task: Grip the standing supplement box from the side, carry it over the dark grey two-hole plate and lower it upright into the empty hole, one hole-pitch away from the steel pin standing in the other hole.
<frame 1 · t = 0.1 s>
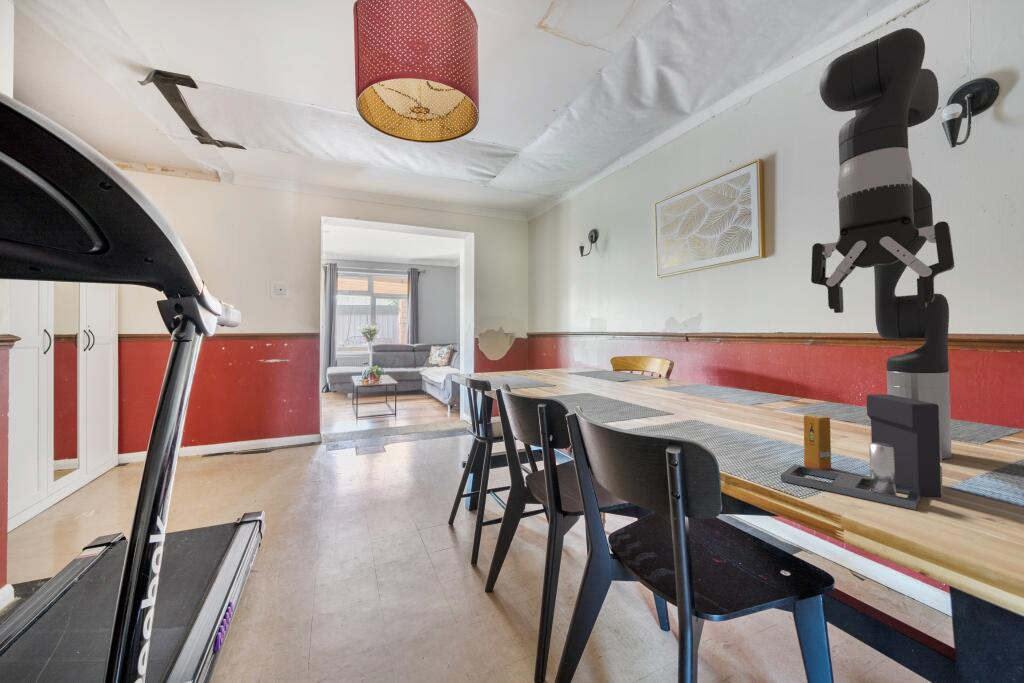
hand: (877, 310, 55), 29 cm above the table, tool pointing down, fingers open, 8 cm apart
supplement box: (818, 468, 78), on the table
steel pin: (883, 494, 64), on the table
hole plate: (847, 487, 67), on the table
black coffee maker: (904, 487, 68), on the table, touching hole plate
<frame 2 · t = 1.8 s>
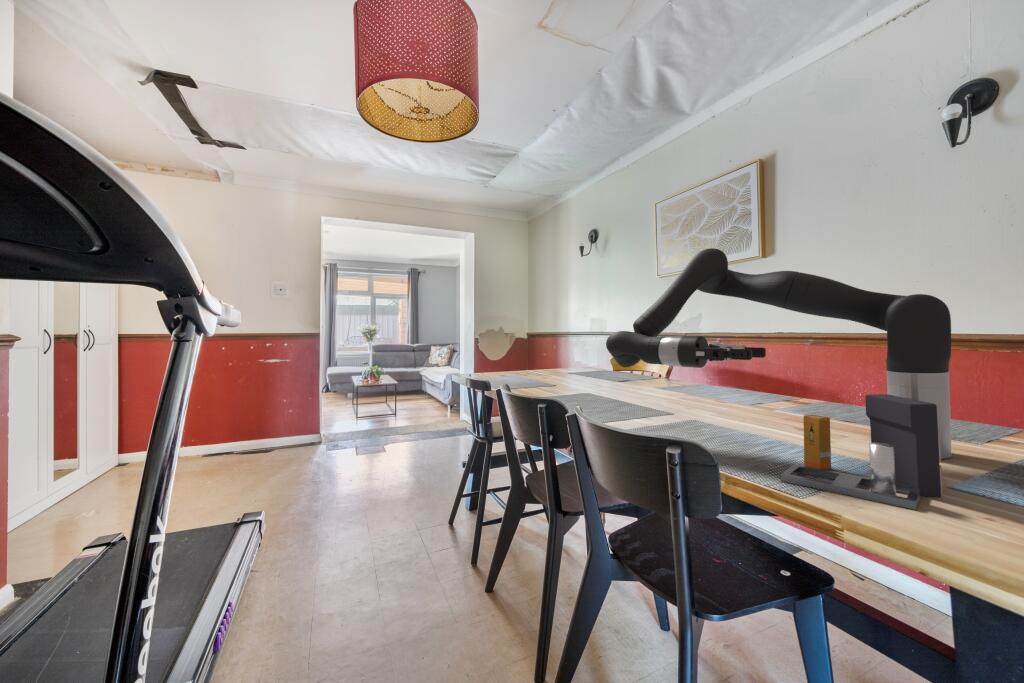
hand: (758, 353, 84), 22 cm above the table, tool horizontal, fingers open, 8 cm apart
nothing on the table moved.
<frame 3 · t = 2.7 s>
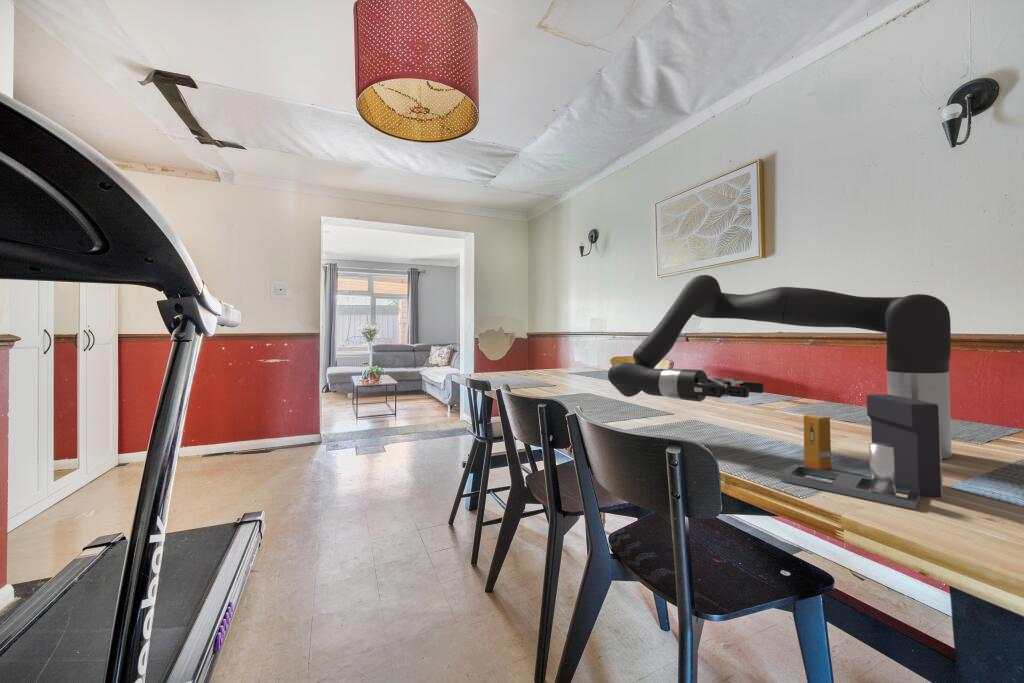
hand: (756, 390, 86), 14 cm above the table, tool horizontal, fingers open, 8 cm apart
nothing on the table moved.
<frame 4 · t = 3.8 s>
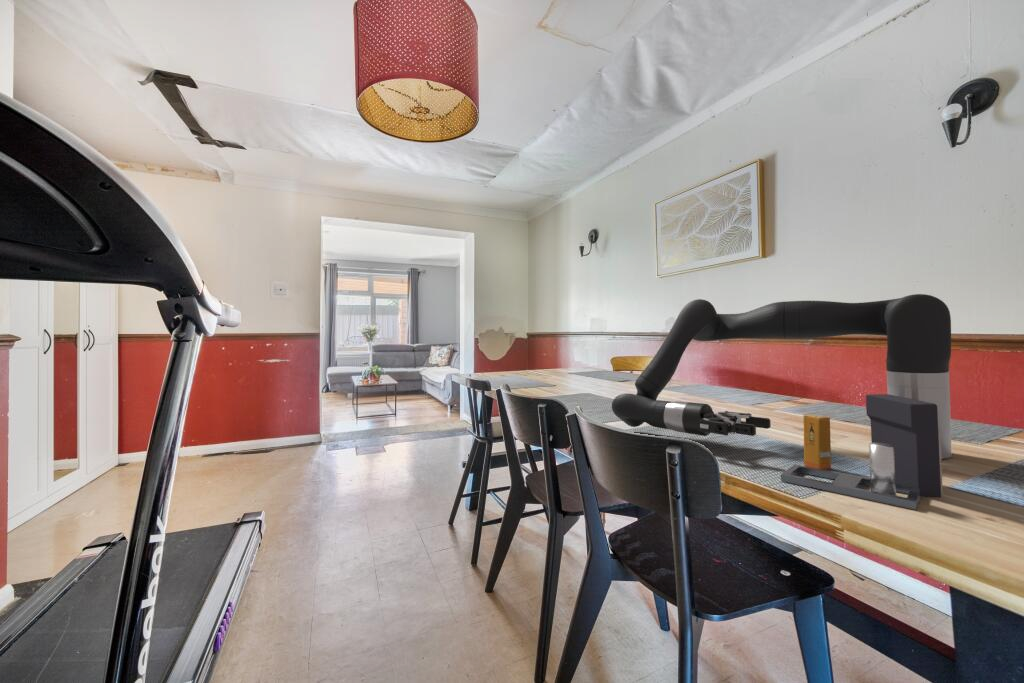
hand: (762, 427, 85), 6 cm above the table, tool horizontal, fingers open, 8 cm apart
nothing on the table moved.
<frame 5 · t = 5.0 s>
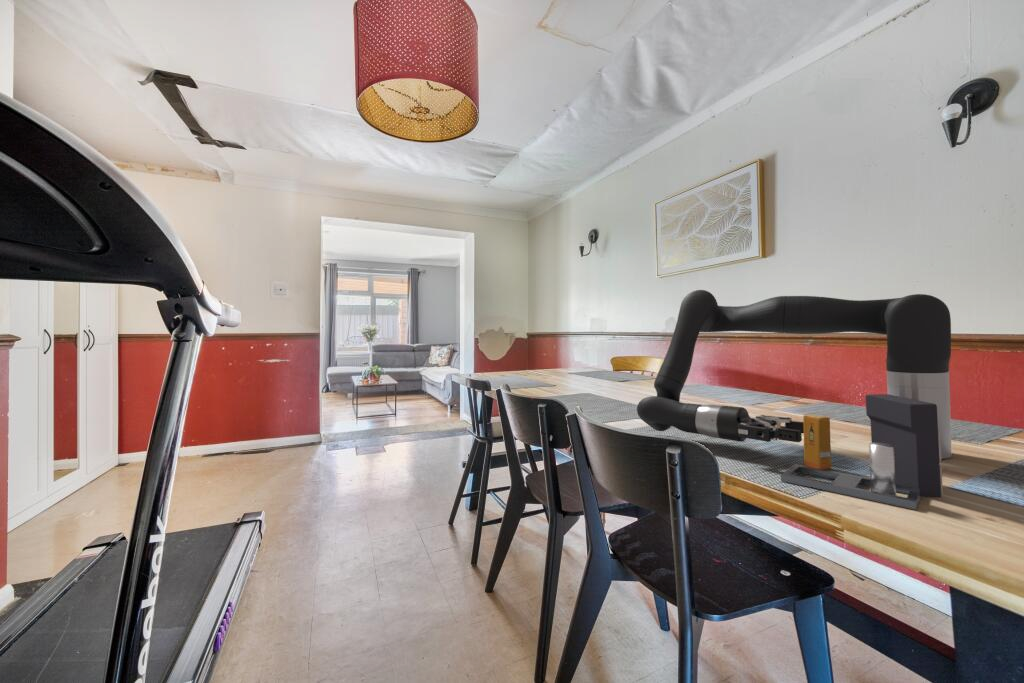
hand: (807, 432, 79), 6 cm above the table, tool horizontal, fingers open, 8 cm apart
nothing on the table moved.
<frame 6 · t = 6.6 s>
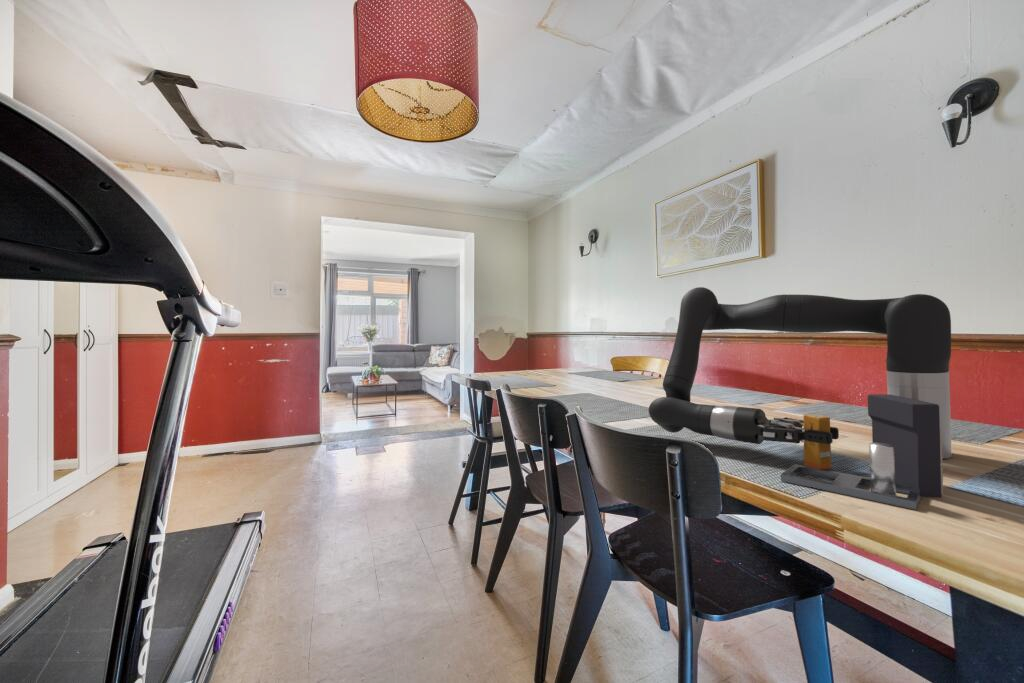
hand: (834, 435, 76), 7 cm above the table, tool horizontal, fingers closed on supplement box, 4 cm apart
supplement box: (818, 468, 78), on the table, touching gripper
everything else where it was.
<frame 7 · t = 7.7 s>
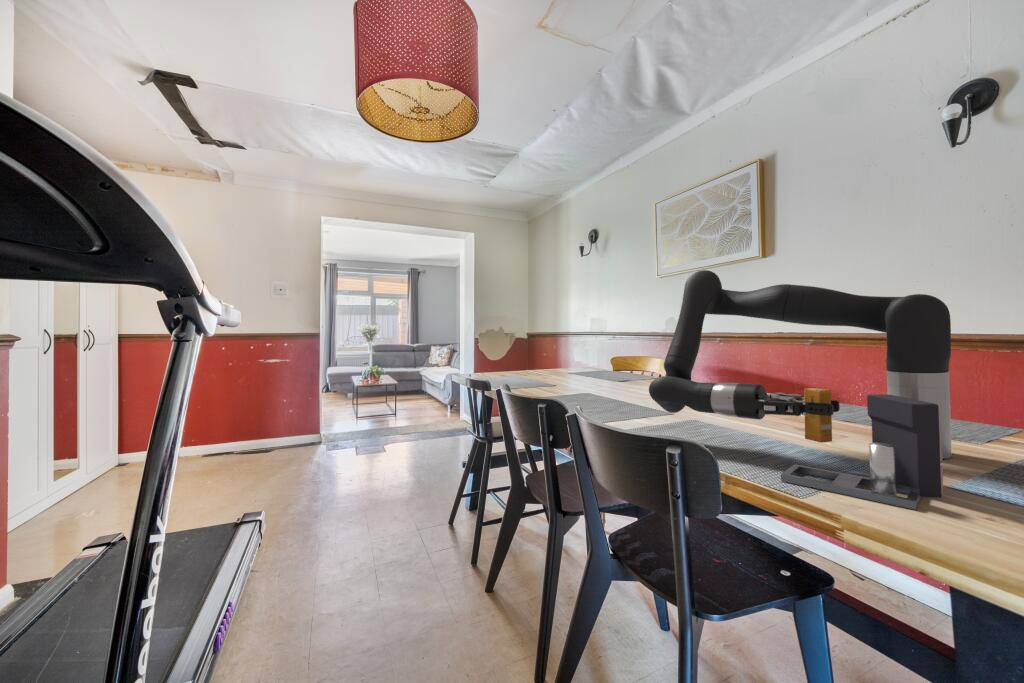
hand: (835, 408, 75), 12 cm above the table, tool horizontal, fingers closed on supplement box, 4 cm apart
supplement box: (819, 441, 78), point 5 cm above the table, touching gripper
everything else where it was.
when the fingers open (7 cm above the table, at t = 13.2 s): supplement box stays where it is, on the table.
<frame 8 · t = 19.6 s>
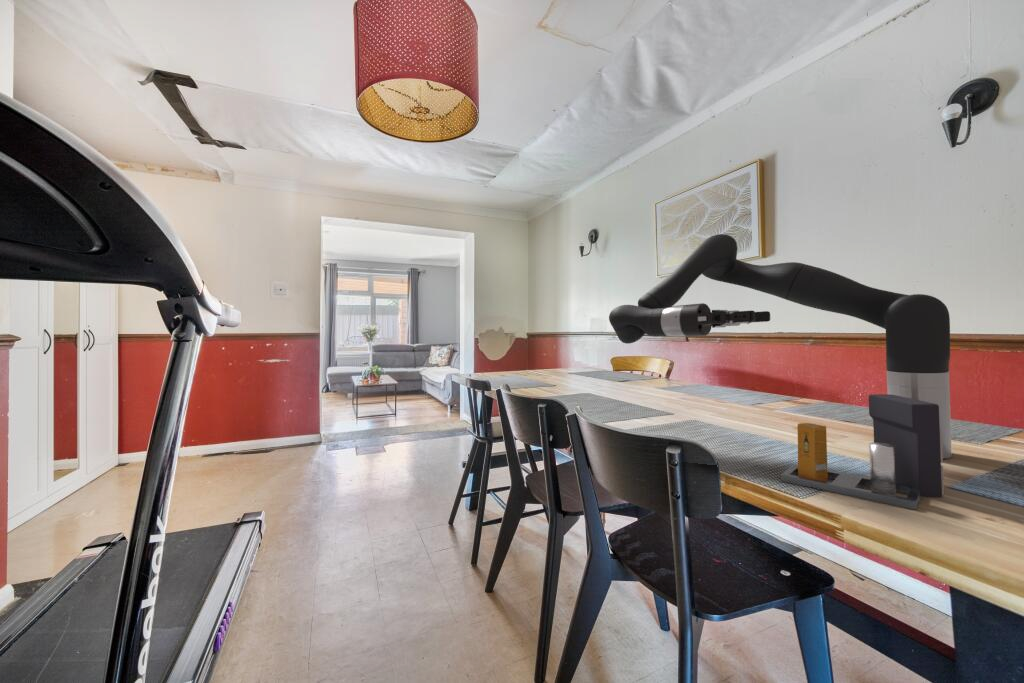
hand: (762, 316, 83), 30 cm above the table, tool horizontal, fingers open, 8 cm apart
supplement box: (813, 481, 71), on the table
everything else where it was.
at the end: supplement box 0.2 cm from the target spot on the hole plate, point 0.0 cm above the hole plate's base; supplement box tilted 0°; the gripper is holding nothing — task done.
